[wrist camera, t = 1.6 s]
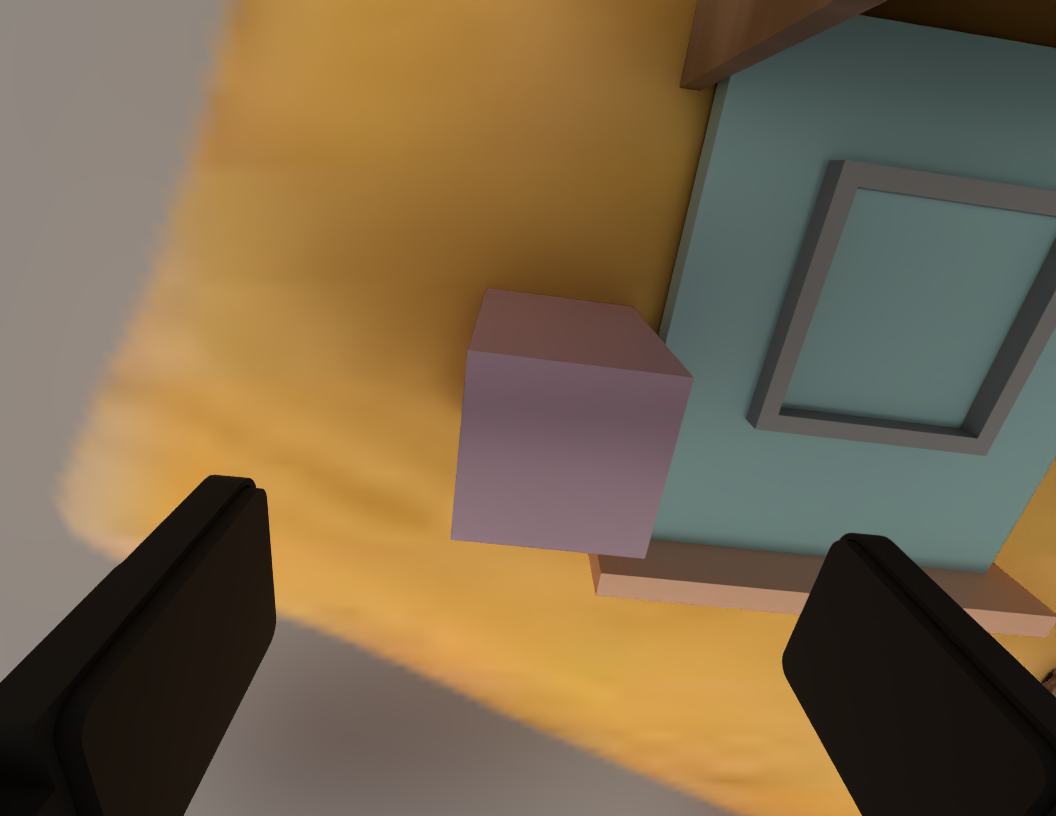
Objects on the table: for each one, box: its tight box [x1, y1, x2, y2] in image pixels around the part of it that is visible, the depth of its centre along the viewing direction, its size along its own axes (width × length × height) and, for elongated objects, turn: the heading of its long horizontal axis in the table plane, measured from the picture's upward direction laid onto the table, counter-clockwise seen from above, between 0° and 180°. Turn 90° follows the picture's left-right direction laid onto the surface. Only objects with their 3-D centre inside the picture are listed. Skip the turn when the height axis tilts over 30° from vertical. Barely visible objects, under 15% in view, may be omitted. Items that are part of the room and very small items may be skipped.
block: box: [451, 288, 694, 559], centre depth 16 cm, size 5×5×7 cm
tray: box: [588, 15, 1056, 638], centre depth 17 cm, size 18×17×3 cm
